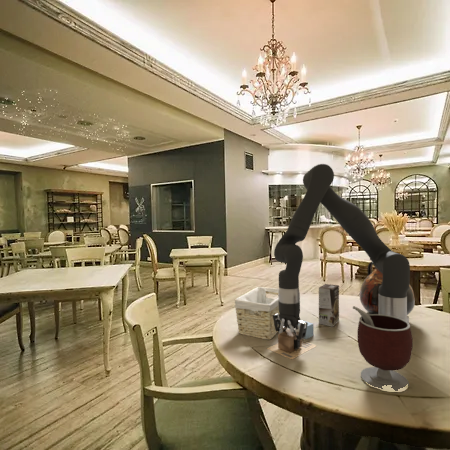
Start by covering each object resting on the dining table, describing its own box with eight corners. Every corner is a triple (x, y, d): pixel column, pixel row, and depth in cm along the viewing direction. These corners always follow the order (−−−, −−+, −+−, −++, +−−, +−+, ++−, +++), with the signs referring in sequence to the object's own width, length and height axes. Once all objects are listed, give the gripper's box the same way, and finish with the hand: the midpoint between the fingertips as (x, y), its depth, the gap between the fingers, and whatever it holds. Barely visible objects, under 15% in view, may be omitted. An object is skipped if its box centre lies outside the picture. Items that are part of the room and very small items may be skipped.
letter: (317, 346, 109) (317, 345, 109) (291, 359, 99) (291, 359, 99) (292, 336, 117) (292, 336, 117) (266, 348, 107) (266, 348, 107)
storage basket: (270, 342, 112) (270, 304, 112) (233, 334, 121) (232, 298, 120) (291, 322, 133) (290, 289, 132) (257, 316, 141) (257, 285, 141)
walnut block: (301, 346, 107) (301, 332, 107) (289, 352, 103) (289, 338, 102) (290, 342, 111) (290, 328, 111) (278, 348, 106) (278, 334, 106)
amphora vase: (426, 324, 126) (427, 259, 125) (390, 333, 118) (389, 263, 117) (383, 310, 146) (382, 253, 145) (349, 316, 138) (348, 256, 137)
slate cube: (313, 336, 118) (313, 323, 118) (306, 339, 114) (306, 326, 114) (302, 332, 122) (302, 320, 121) (295, 335, 118) (295, 323, 118)
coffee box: (333, 327, 126) (333, 289, 126) (318, 324, 130) (317, 287, 129) (339, 320, 133) (339, 285, 133) (325, 318, 137) (325, 283, 137)
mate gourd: (416, 378, 86) (416, 310, 86) (406, 401, 76) (406, 324, 75) (360, 361, 97) (360, 300, 96) (345, 380, 86) (344, 311, 86)
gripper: (312, 301, 103) (313, 349, 104) (279, 293, 114) (280, 337, 115) (299, 306, 98) (300, 357, 99) (266, 297, 109) (267, 343, 110)
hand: (290, 346), depth 107 cm, fingers closed on walnut block, 5 cm apart
